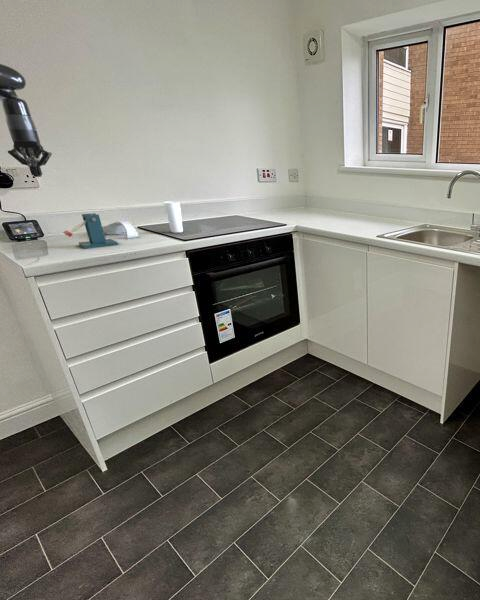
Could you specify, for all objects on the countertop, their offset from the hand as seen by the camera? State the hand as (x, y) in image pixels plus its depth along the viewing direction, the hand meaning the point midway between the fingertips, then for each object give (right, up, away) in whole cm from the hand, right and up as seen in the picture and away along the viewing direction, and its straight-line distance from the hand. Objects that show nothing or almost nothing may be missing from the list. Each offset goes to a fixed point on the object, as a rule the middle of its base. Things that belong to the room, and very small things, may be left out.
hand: (37, 176), depth 140 cm
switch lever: (+14, -20, +4) cm, 25 cm away
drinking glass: (+30, -15, +40) cm, 52 cm away
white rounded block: (+10, -18, +29) cm, 36 cm away
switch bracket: (+16, -26, +10) cm, 32 cm away
